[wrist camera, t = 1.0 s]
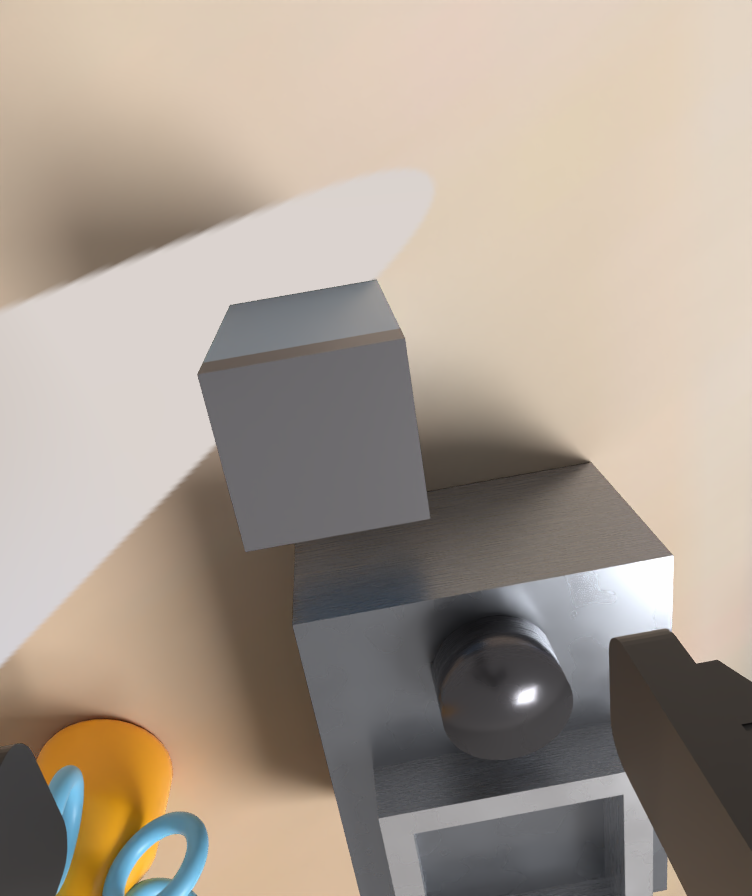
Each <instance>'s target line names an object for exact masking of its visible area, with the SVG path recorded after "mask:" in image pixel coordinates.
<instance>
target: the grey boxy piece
mask: <svg viewBox="0 0 752 896" xmlns="http://www.w3.org/2000/svg"><path fill="white" fill-rule="evenodd" d="M427 498H428V505H429V512H430V519H426V520H421V521H415V522H410V523H404V524H398V525H393V526H387V527H382V528H376V529H371V530H365V531H359V532H354V533H348V534H343V535H337V536H332V537H326V538H320V539H315V540H309V541H304V542H298V543H295V562H294V593H293V624H292V625H293V629H294V633H295V637H296V641H297V645H298V649H299V653H300V657H301V661H302V665H303V669H304V673H305V677H306V681H307V685H308V689H309V693H310V697H311V701H312V705H313V709H314V713H315V717H316V721H317V725H318V729H319V733H320V737H321V741H322V745H323V749H324V753H325V757H326V761H327V765H328V769H329V773H330V777H331V781H332V785H333V789H334V793H335V797H336V801H337V805H338V808H339V812H340V816H341V820H342V824H343V828H344V832H345V836H346V840H347V844H348V848H349V852H350V856H351V860H352V864H353V868H354V872H355V876H356V880H357V884H358V888H359V892H360V896H653V892H658V891H663V890H667V854H666V852H665V850H664V848H663V847H662V845H661V843H660V841H659V839H658V837H657V835H656V833H655V831H654V829H653V827H652V825H651V823H650V821H649V819H648V817H647V815H646V813H645V811H644V809H643V807H642V805H641V803H640V801H639V799H638V797H637V795H636V793H635V791H634V789H633V787H632V785H631V783H630V781H629V779H628V777H627V775H626V773H625V771H624V769H623V767H622V764H621V762H620V759H619V756H618V753H617V750H616V747H615V743H614V739H613V735H612V729H611V719H610V681H609V643H610V640H611V639H612V638H614V637H620V636H625V635H631V634H636V633H642V632H647V631H653V630H658V629H664V628H665V629H668V630H670V631H671V632H672V599H673V555H672V554H671V552H670V551H669V550H668V549H667V548H666V547H665V546H664V544H663V543H662V542H661V541H660V540H659V539H658V538H657V536H656V535H655V534H654V533H653V532H652V531H651V530H650V529H649V527H648V526H647V525H646V524H645V523H644V522H643V521H642V519H641V518H640V517H639V516H638V515H637V514H636V513H635V511H634V510H633V509H632V508H631V507H630V506H629V505H628V503H627V502H626V501H625V500H624V499H623V498H622V497H621V496H620V494H619V493H618V492H617V491H616V490H615V489H614V488H613V486H612V485H611V484H610V483H609V482H608V481H607V480H606V478H605V477H604V476H603V475H602V474H601V473H600V472H599V471H598V469H597V468H596V467H595V466H594V465H593V464H592V463H591V462H590V463H584V464H579V465H573V466H568V467H562V468H557V469H551V470H545V471H540V472H534V473H529V474H523V475H518V476H512V477H506V478H501V479H495V480H490V481H484V482H479V483H473V484H467V485H462V486H456V487H451V488H445V489H440V490H434V491H429V492H427Z"/></svg>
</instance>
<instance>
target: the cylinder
mask: <svg viewBox="0 0 752 896" xmlns="http://www.w3.org/2000/svg"><path fill="white" fill-rule="evenodd" d="M36 761H37V763H38V766H39V768H40V770H41V772H42V774H43V776H44V778H45V781H46V783H47V785H48V787H49V789H50V791H51V793H52V795H53V798H54V800H55V802H56V804H57V806H58V808H59V810H60V812H61V815H62V817H63V819H64V822H65V826H66V831H67V858H66V864H65V869H64V872H63V875H62V878H61V881H60V884H59V887H58V890H57V893H56V896H197V895H196V894H195V893H194V892H193V891H192V889H193V887H194V886H195V884H196V882H197V881H198V879H199V877H200V875H201V873H202V870H203V868H204V865H205V862H206V858H207V854H208V834H207V830H206V828H205V826H204V824H203V822H202V821H201V820H200V819H199V818H198V817H197V816H195V815H194V814H191V813H188V812H172V813H168V814H165V811H166V807H167V802H168V797H169V792H170V788H171V782H172V776H173V769H172V763H171V759H170V757H169V754H168V752H167V750H166V749H165V747H164V745H163V744H162V743H161V742H160V741H159V740H158V739H157V738H156V737H155V736H154V735H152V734H151V733H149V732H148V731H146V730H145V729H143V728H140V727H138V726H136V725H134V724H131V723H126V722H123V721H119V720H111V719H93V720H88V721H82V722H78V723H76V724H73V725H70V726H68V727H66V728H64V729H62V730H60V731H59V732H58V733H56V734H55V735H54V736H53V737H52V738H50V739H49V741H48V742H47V743H46V744H45V745H44V747H43V748H42V750H41V751H40V753H39V756H38V758H37V760H36ZM172 834H181V835H183V836H185V838H186V840H187V851H186V855H185V858H184V860H183V863H182V865H181V867H180V869H179V870H178V872H177V873H176V875H175V876H174V878H173V879H168V878H151V879H147V880H144V881H141V882H139V881H140V880H141V879H142V878H143V876H144V875H145V874H146V872H147V871H148V870H149V868H150V866H151V865H152V863H153V861H154V858H155V856H156V852H157V849H158V844H159V840H161V839H162V838H164V837H166V836H169V835H172ZM138 882H139V883H138Z"/></svg>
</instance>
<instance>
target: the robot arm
mask: <svg viewBox="0 0 752 896" xmlns="http://www.w3.org/2000/svg"><path fill="white" fill-rule="evenodd" d="M609 681H610V719H611V729H612V735H613V739H614V743H615V747H616V750H617V753H618V756H619V759H620V762H621V764H622V767H623V769H624V771H625V773H626V775H627V777H628V779H629V781H630V783H631V785H632V787H633V789H634V791H635V793H636V795H637V797H638V799H639V801H640V803H641V805H642V807H643V809H644V811H645V813H646V815H647V817H648V819H649V821H650V823H651V825H652V827H653V829H654V831H655V833H656V835H657V837H658V839H659V841H660V843H661V845H662V847H663V848H664V850H665V852H666V854H667V856H668V858H669V860H670V862H671V864H672V866H673V868H674V870H675V872H676V874H677V876H678V878H679V880H680V882H681V884H682V886H683V888H684V890H685V892H686V894H687V896H752V682H751V681H749V680H748V679H746V678H745V677H743V676H742V675H740V674H739V673H737V672H735V671H734V670H732V669H731V668H729V667H728V666H726V665H725V664H723V663H722V662H720V661H718V660H714V661H709V662H703V663H698V664H696V663H695V662H694V660H693V659H692V658H691V656H690V655H689V654H688V652H687V651H686V650H685V648H684V647H683V646H682V644H681V643H680V641H679V640H678V639H677V637H676V636H675V635H674V634H673V633H672V632H671V631H670V630H668V629H665V628H664V629H658V630H653V631H647V632H642V633H636V634H631V635H625V636H620V637H614V638H612V639H611V640H610V643H609ZM66 858H67V831H66V826H65V822H64V819H63V817H62V815H61V812H60V810H59V808H58V806H57V804H56V802H55V800H54V798H53V795H52V793H51V791H50V789H49V787H48V785H47V783H46V781H45V778H44V776H43V774H42V772H41V770H40V768H39V766H38V763H37V761H36V759H35V757H34V755H33V753H32V751H31V750H30V749H29V747H28V746H26V745H25V744H22V743H20V744H13V745H8V746H2V747H0V896H56V893H57V890H58V887H59V884H60V881H61V878H62V875H63V872H64V869H65V864H66Z"/></svg>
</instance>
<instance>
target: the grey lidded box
mask: <svg viewBox="0 0 752 896" xmlns="http://www.w3.org/2000/svg"><path fill="white" fill-rule="evenodd" d="M198 379H199V382H200V386H201V389H202V394H203V397H204V401H205V405H206V408H207V412H208V416H209V419H210V423H211V427H212V430H213V434H214V437H215V442H216V445H217V449H218V453H219V456H220V460H221V464H222V467H223V471H224V475H225V479H226V482H227V486H228V490H229V493H230V497H231V501H232V504H233V508H234V512H235V516H236V519H237V523H238V527H239V530H240V534H241V538H242V541H243V545H244V549H245V552H248V551H254V550H259V549H265V548H270V547H276V546H281V545H287V544H293V543H298V542H304V541H309V540H315V539H320V538H326V537H332V536H337V535H343V534H348V533H354V532H359V531H365V530H371V529H376V528H382V527H387V526H393V525H398V524H404V523H410V522H415V521H421V520H426V519H430V512H429V505H428V498H427V491H426V484H425V477H424V470H423V463H422V456H421V448H420V441H419V434H418V427H417V420H416V413H415V406H414V399H413V392H412V385H411V378H410V371H409V364H408V356H407V349H406V342H405V337H404V335H403V333H402V331H401V329H400V327H399V325H398V323H397V321H396V319H395V317H394V315H393V312H392V310H391V308H390V306H389V304H388V302H387V300H386V298H385V296H384V294H383V292H382V290H381V288H380V286H379V283H378V281H377V280H372V281H366V282H361V283H355V284H349V285H343V286H337V287H332V288H326V289H320V290H314V291H308V292H303V293H297V294H292V295H285V296H280V297H274V298H269V299H262V300H257V301H251V302H245V303H239V304H233V305H230V306H229V309H228V311H227V313H226V315H225V317H224V319H223V321H222V323H221V325H220V328H219V330H218V332H217V334H216V336H215V338H214V340H213V342H212V345H211V347H210V349H209V351H208V353H207V355H206V357H205V359H204V362H203V364H202V366H201V368H200V370H199V372H198Z"/></svg>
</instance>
